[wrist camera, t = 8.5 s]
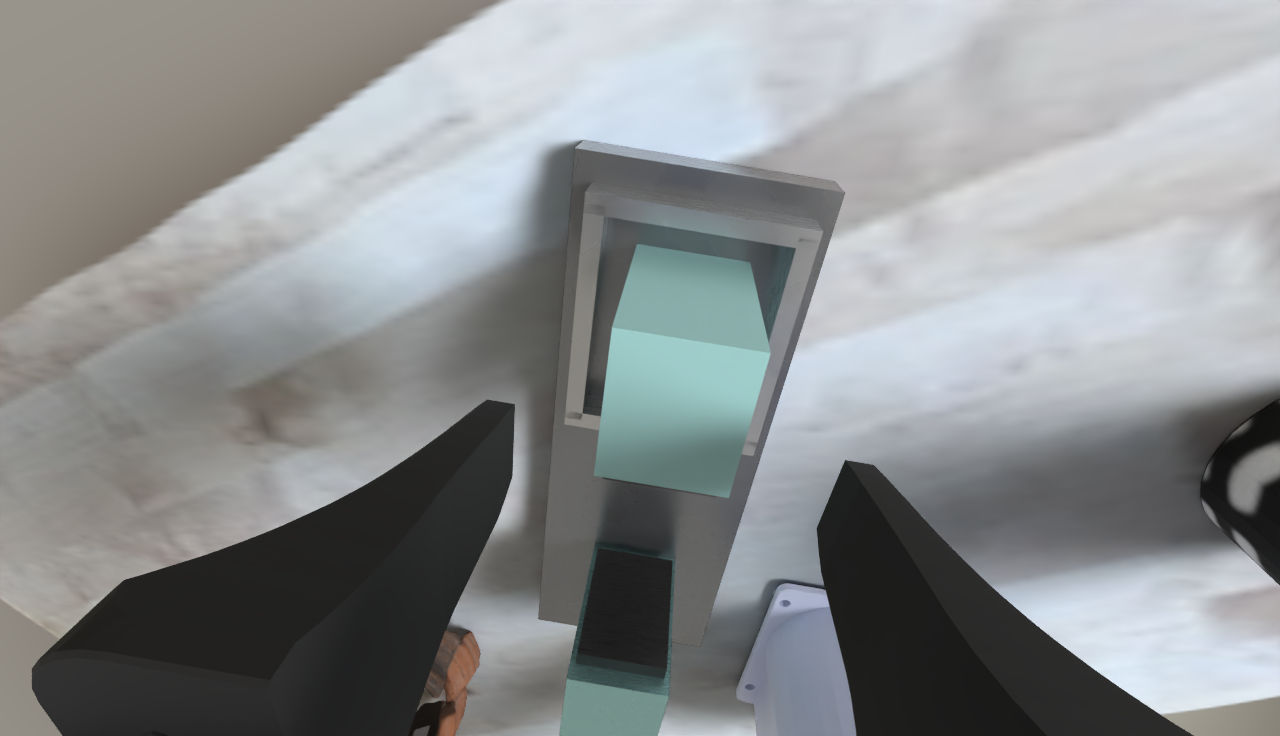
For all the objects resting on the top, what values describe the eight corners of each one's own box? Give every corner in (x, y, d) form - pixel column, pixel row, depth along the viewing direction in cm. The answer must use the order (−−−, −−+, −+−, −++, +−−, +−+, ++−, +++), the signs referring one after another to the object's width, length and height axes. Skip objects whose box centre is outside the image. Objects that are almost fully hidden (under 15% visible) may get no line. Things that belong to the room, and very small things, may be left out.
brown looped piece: (289, 614, 33) (222, 711, 25) (444, 537, 35) (427, 604, 27) (387, 774, 35) (354, 910, 27) (528, 694, 37) (536, 800, 29)
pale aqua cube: (636, 243, 18) (611, 327, 13) (750, 262, 18) (770, 352, 13) (618, 377, 20) (591, 492, 15) (717, 393, 20) (724, 514, 15)
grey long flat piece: (699, 619, 29) (700, 786, 23) (545, 593, 29) (501, 751, 23) (834, 181, 18) (910, 262, 11) (583, 139, 18) (518, 197, 11)
